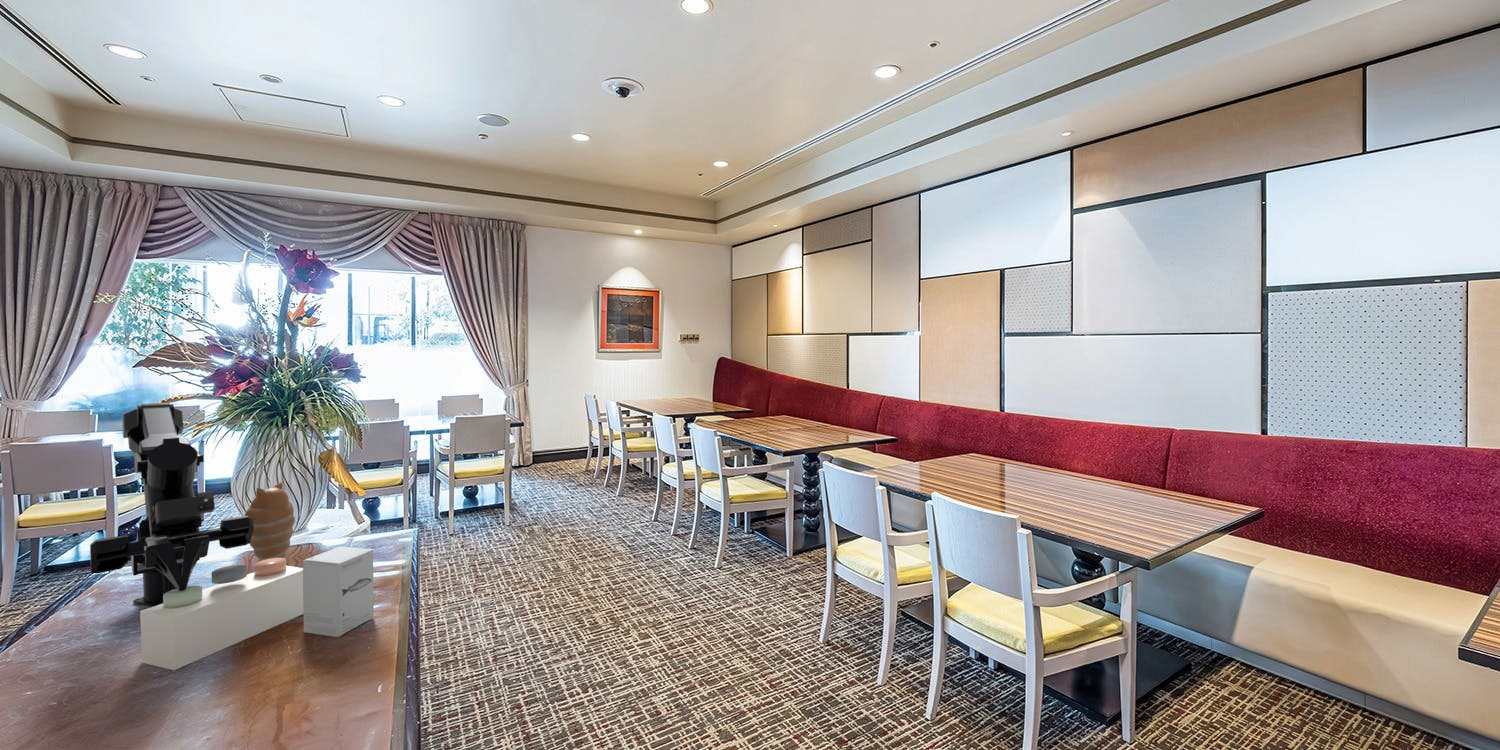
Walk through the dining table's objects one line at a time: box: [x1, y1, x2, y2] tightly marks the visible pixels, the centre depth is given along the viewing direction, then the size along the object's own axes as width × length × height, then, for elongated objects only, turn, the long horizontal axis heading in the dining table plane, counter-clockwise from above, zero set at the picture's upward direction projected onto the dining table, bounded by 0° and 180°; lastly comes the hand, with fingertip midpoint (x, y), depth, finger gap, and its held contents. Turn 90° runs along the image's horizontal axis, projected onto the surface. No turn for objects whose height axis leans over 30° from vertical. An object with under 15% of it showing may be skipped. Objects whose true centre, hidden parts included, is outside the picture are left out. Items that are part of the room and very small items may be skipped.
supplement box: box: [302, 546, 375, 638], centre depth 102 cm, size 7×7×13 cm
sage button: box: [163, 585, 203, 607], centre depth 92 cm, size 4×4×2 cm
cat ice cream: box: [244, 482, 296, 562], centre depth 126 cm, size 9×8×18 cm
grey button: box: [210, 564, 248, 585], centre depth 98 cm, size 4×4×2 cm
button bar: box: [139, 565, 304, 671], centre depth 98 cm, size 7×20×8 cm, turn 164°
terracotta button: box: [253, 557, 287, 575], centre depth 105 cm, size 4×4×2 cm
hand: (182, 589), depth 92 cm, fingers closed
